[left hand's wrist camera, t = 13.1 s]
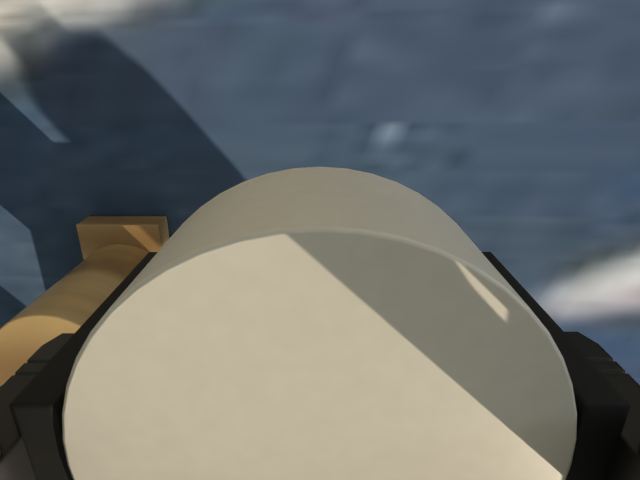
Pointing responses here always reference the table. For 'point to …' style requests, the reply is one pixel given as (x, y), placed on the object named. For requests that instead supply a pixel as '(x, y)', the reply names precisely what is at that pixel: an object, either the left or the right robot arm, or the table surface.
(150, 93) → the table surface
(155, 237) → the canister stand
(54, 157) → the table surface
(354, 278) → the cap
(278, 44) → the table surface
